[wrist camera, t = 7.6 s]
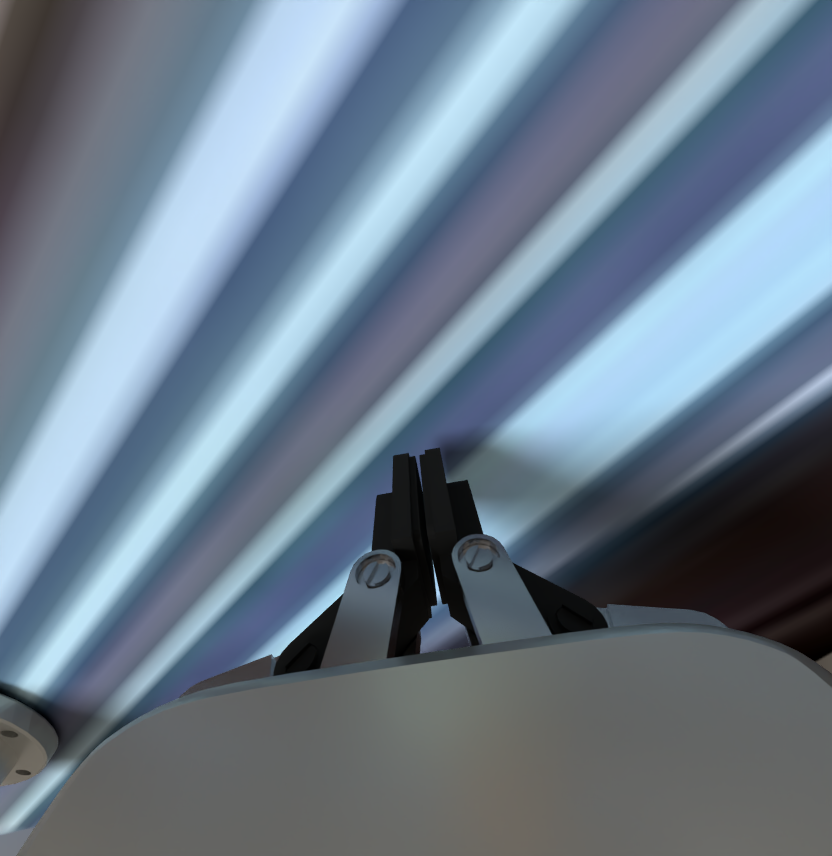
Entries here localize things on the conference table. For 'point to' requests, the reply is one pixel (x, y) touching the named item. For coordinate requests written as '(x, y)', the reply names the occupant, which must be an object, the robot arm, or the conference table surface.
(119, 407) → the conference table surface
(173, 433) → the conference table surface
